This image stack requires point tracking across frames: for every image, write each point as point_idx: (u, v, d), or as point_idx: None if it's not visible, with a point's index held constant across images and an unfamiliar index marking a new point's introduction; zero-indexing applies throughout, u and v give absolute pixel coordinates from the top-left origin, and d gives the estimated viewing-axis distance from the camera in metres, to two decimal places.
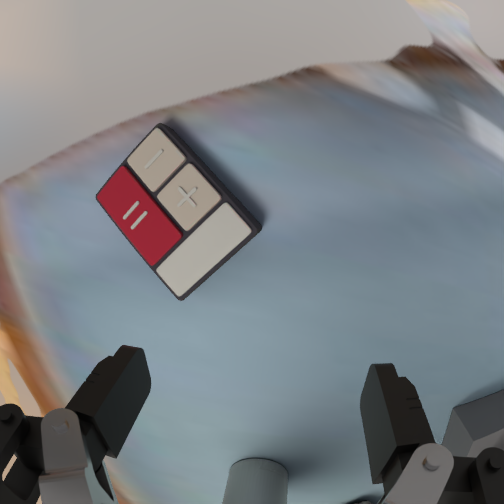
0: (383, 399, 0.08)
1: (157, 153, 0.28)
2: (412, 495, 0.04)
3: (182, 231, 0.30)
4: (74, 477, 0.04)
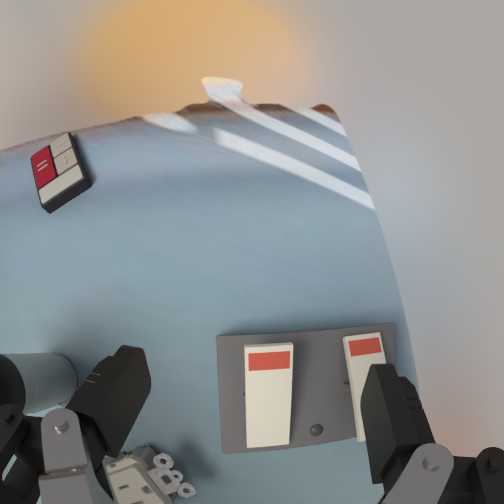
0: (383, 399, 0.08)
1: (62, 142, 0.54)
2: (412, 495, 0.04)
3: (57, 175, 0.52)
4: (74, 477, 0.04)
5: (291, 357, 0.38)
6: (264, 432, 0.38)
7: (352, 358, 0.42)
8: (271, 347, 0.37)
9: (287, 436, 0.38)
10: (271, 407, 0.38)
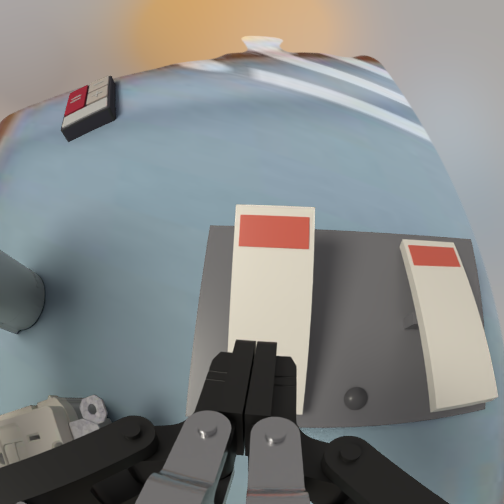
0: (252, 372, 0.09)
1: (100, 81, 0.54)
2: (272, 472, 0.05)
3: (85, 106, 0.51)
4: (189, 493, 0.05)
5: (312, 229, 0.23)
6: None
7: (417, 268, 0.25)
8: (278, 208, 0.24)
9: (300, 396, 0.22)
10: (273, 325, 0.23)
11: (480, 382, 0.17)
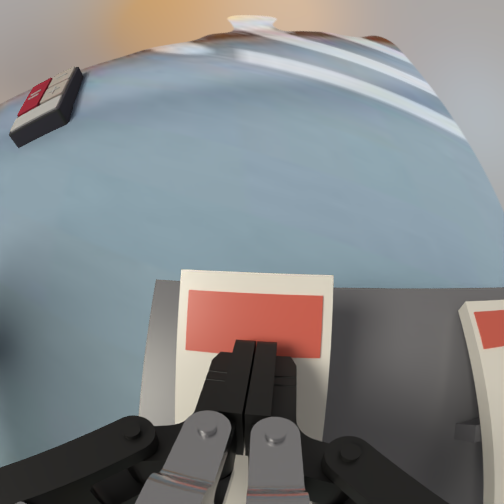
0: (252, 372, 0.09)
1: (64, 74, 0.41)
2: (272, 472, 0.05)
3: (39, 105, 0.38)
4: (189, 494, 0.05)
5: (327, 320, 0.12)
6: None
7: (488, 353, 0.12)
8: (262, 278, 0.12)
9: None
10: None
11: None
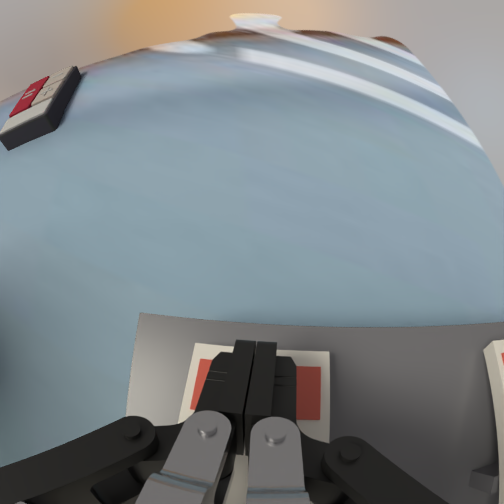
0: (252, 372, 0.09)
1: (60, 73, 0.38)
2: (272, 472, 0.05)
3: (30, 107, 0.35)
4: (189, 494, 0.05)
5: (325, 387, 0.12)
6: None
7: None
8: None
9: None
10: None
11: None
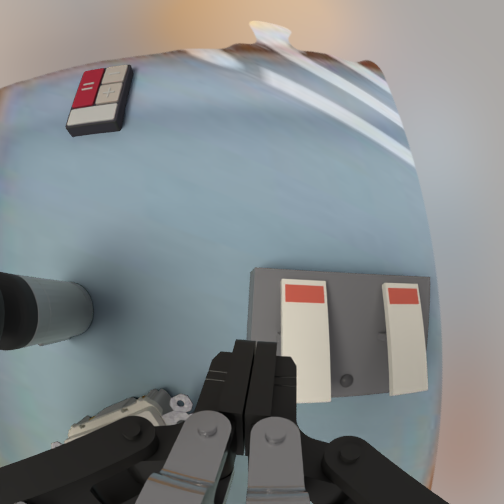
0: (252, 372, 0.09)
1: (117, 72, 0.50)
2: (272, 472, 0.05)
3: (94, 104, 0.49)
4: (189, 494, 0.04)
5: (325, 292, 0.40)
6: (302, 380, 0.35)
7: (391, 306, 0.40)
8: (306, 281, 0.41)
9: (328, 389, 0.34)
10: (309, 346, 0.37)
11: (418, 381, 0.36)
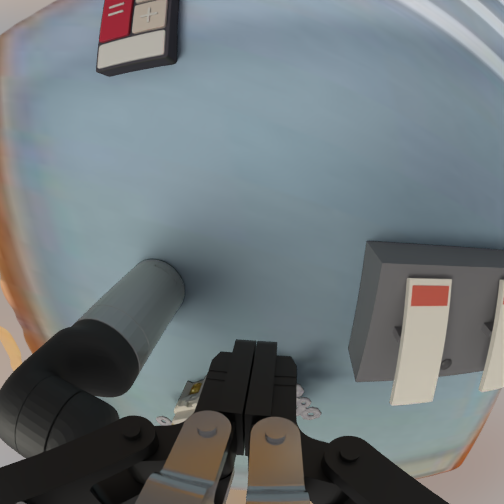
0: (252, 372, 0.09)
1: None
2: (272, 472, 0.06)
3: (130, 33, 0.31)
4: (190, 494, 0.05)
5: (449, 293, 0.32)
6: (413, 385, 0.32)
7: (503, 306, 0.31)
8: (433, 280, 0.32)
9: (433, 391, 0.32)
10: (425, 352, 0.32)
11: None
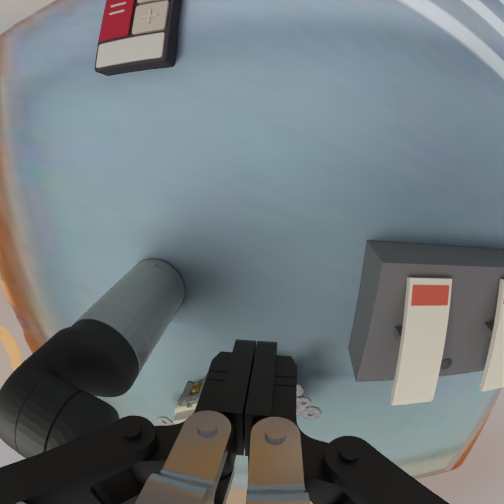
0: (252, 372, 0.09)
1: None
2: (272, 472, 0.05)
3: (130, 33, 0.31)
4: (189, 493, 0.05)
5: (449, 293, 0.32)
6: (413, 384, 0.32)
7: None
8: (433, 280, 0.32)
9: (433, 391, 0.32)
10: (425, 352, 0.32)
11: None
